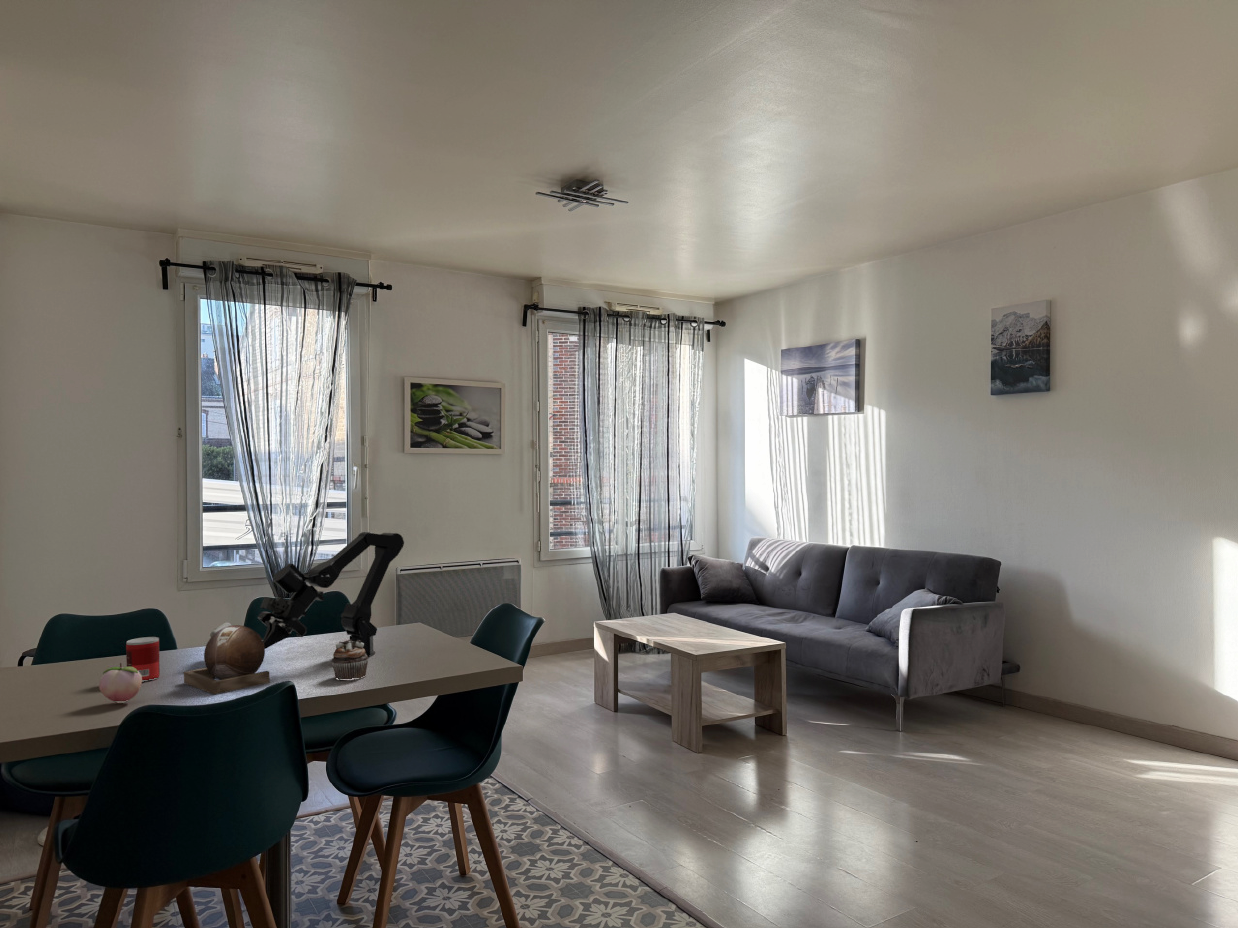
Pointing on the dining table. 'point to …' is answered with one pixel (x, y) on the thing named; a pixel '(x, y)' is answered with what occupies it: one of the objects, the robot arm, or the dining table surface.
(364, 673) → the cupcake
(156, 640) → the canned food
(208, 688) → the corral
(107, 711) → the dining table surface
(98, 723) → the dining table surface
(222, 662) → the wooden sphere
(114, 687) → the decorative fruit
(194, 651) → the dining table surface
